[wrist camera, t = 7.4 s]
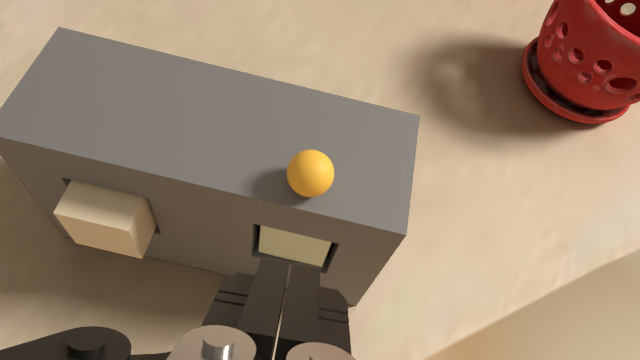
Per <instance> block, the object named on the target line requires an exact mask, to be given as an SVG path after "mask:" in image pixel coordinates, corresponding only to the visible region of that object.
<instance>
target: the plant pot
mask: <svg viewBox="0 0 640 360" xmlns="http://www.w3.org/2000/svg"><path fill="white" fill-rule="evenodd" d="M625 3H632V4H634V5H635V6H636V10H635V11H634V12H633V13H632V14H630V15H625V14H623V13H622V12H621V6H622V5H624V4H625ZM522 72H523V76H524V79H525V82H526V84H527V86H528V88H529V89H530V91H531V92H532V94H533V95H534V96H535V97H536V98H537V99H538V100H539V101H540V102H541V103H542V104H543V105H544V106H546V107H547V108H548V109H550V110H551V111H553V112H554V113H556V114H558V115H560V116H562V117H564V118H567V119H570V120H573V121H576V122H581V123H589V124H597V123H605V122H609V121H612V120H615V119H617V118H619V117H620V116H622V115H623V114H624V113H625V112H626V111H627V110H628V108H629V107H630V105H631V104H634V103H637V102H639V101H640V0H614V1H613V2H611V3H606V2H605V0H554V2H553V4H552V5H551V7H550V9H549V11H548V13H547V15H546V17H545V20H544V22H543V25H542V28H541V31H540V34H539V36H538V37H536V38H535V39H533V40H532V41H531V42H530V43H529V44H528V46H527V47H526V49H525V51H524V53H523V57H522Z"/></svg>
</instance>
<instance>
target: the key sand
mask: <svg viewBox="0 0 640 360" xmlns="http://www.w3.org/2000/svg"><path fill="white" fill-rule="evenodd" d="M53 214H54V215H55V216H56V218H57V219H58V220H59V222H60V223H61V224H62V225H63V227H64V228H65V229H66V231H67V232H68V233H69V235H70V236H71V237H72V239H73V240H74V241H75V243H77V244H81V245H86V246H90V247H94V248H98V249H102V250H107V251H111V252H115V253H119V254H123V255H127V256H132V257H136V258H140V259H143V256H144V254H145V252H146V249H147V247H148V244H149V242H150V240H151V237H152V235H153V233H154V230H155V228H156V225H157V221H156V218H155V215H154V212H153V210H152V207H151V204H150V201H149V198H146V197H142V196H137V195H133V194H129V193H125V192H121V191H117V190H112V189H108V188H104V187H100V186H96V185H92V184H88V183H83V182H79V181H75V180H71V182H70V183H69V185H68V187H67V189H66V191H65V192H64V194H63V196H62V198H61V200H60V201H59V203H58V205H57V207H56V209H55V210H54V212H53Z"/></svg>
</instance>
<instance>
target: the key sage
mask: <svg viewBox="0 0 640 360" xmlns="http://www.w3.org/2000/svg"><path fill="white" fill-rule="evenodd" d="M331 243H332V242H328V241H324V240H320V239H316V238H312V237H308V236H303V235H299V234H295V233H291V232H287V231H283V230H278V229H274V228H270V227H266V226H262V225H261V227H260V240H259V252H261V253H266V254H270V255H274V256H278V257H282V258H286V259H291V260H295V261H299V262H303V263H307V264H311V265H316V266H320V267H322V265H323V263H324V260H325V258H326V255H327V253H328V250H329V248H330V245H331Z"/></svg>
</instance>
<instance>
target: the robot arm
mask: <svg viewBox="0 0 640 360" xmlns="http://www.w3.org/2000/svg"><path fill="white" fill-rule="evenodd" d="M289 264H290V262H288V261H283V260H277V259H271V258H266V257H261V260H260V263H259V266H258V268H257V271H256V274H255V275H252V274H246V273H240V272H236V273H234V274H233V275H231V276H229V277H228V278H226V279H224V281H223V283H222V285H221V287H220V289H219V292H218V293H217V295H216V297H215V299H214V301H213V303H212V305H211V307H210V309H209V311H208V313H207V315H206V317H205V319H204V321H203V323H202V325H201V327H198V328H195V329H192V330H190V331H189V332H187V333H186V334H184V335H183V337H182V338H181V339H180V341H179V342H178V343H177V345H176V346H175V348H174V349H173V351H171V352H166V353H160V354H142V355H131V343H130V341H129V339H128V338H127V337H126V336H125V335H124V334H122V333H120V332H118V331H116V330H113V329H110V328H105V327H92V326H89V327H79V328H74V329H70V330H66V331H63V332H59V333H56V334H53V335H50V336H46V337H43V338H40V339H36V340H33V341H30V342H26V343H23V344H20V345H16V346H13V347H10V348H6V349H3V350H0V360H272V356H273V351H274V346H275V341H276V335H277V330H278V325H279V319H280V314H281V308H282V303H283V297H284V292H285V286H286V280H287V275H288V269H289ZM348 323H349V320H348V307H347V300H346V299H345V298H344V297H343V295H342V294H341V293H340V292H339V290H337V289H331V288H325V287H320V267H317V266H311V265H305V264H300V263H294V262H292V267H291V272H290V278H289V283H288V288H287V294H286V299H285V304H284V310H283V315H282V321H281V326H280V331H279V337H278V342H277V348H276V353H275V359H274V360H355V358H354V357H353V356H351V345H350V332H349V325H348Z"/></svg>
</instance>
